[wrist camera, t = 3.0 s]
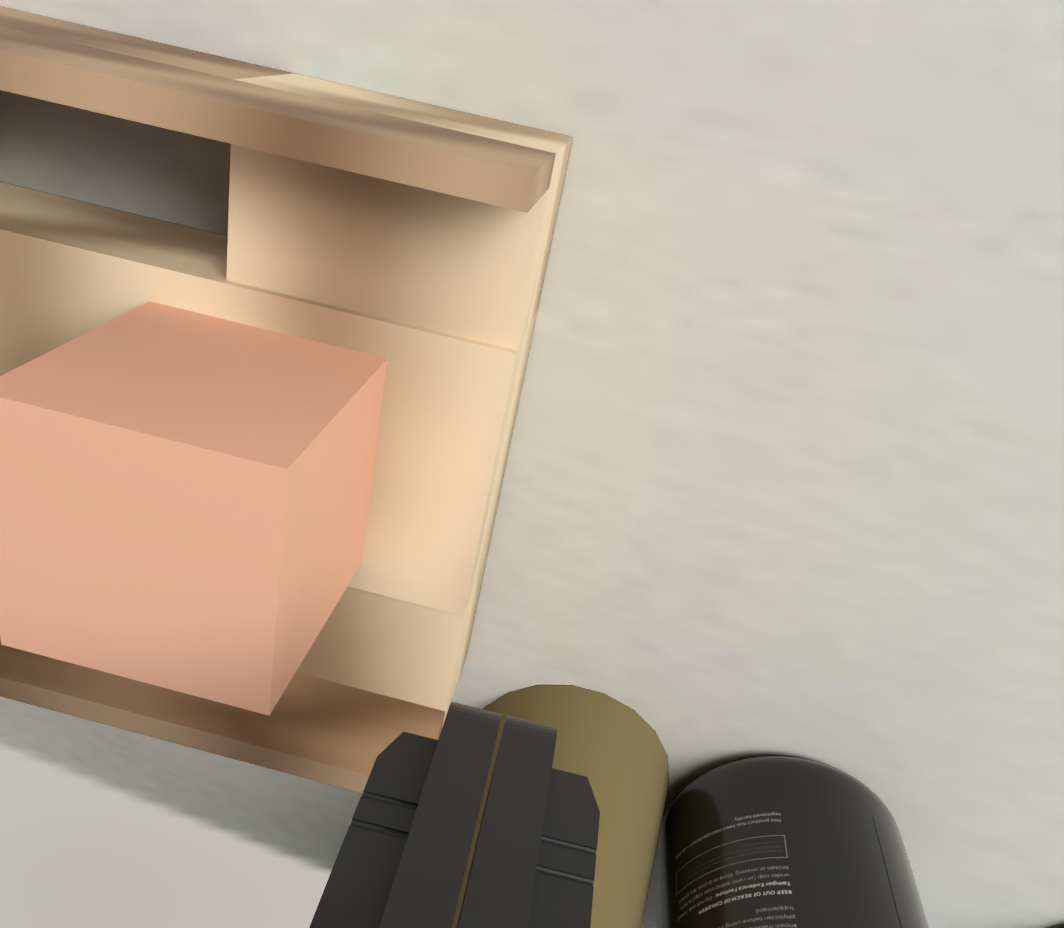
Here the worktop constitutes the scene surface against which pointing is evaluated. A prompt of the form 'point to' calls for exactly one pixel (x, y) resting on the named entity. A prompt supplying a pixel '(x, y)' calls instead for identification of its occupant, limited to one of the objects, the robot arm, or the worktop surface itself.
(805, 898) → the supplement bottle
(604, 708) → the cork
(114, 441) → the block
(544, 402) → the worktop surface
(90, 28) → the wooden organizer box
